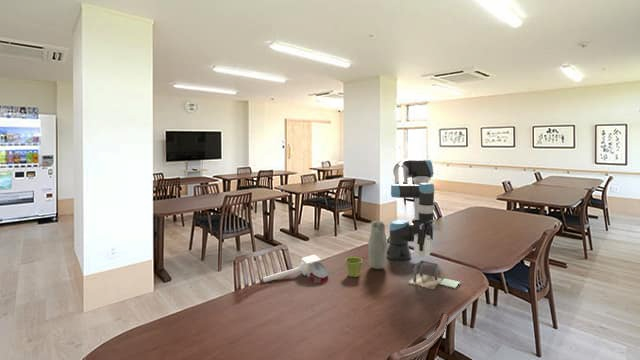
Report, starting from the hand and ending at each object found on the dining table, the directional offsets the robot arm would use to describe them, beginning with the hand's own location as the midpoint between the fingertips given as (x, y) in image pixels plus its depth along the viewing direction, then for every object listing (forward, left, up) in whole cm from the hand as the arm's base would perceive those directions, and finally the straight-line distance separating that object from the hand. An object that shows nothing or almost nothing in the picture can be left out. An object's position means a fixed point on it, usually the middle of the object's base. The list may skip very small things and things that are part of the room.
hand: (424, 254), depth 180 cm
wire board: (+2, -4, -13) cm, 14 cm away
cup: (0, -1, 0) cm, 1 cm away
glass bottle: (-27, -2, -14) cm, 30 cm away
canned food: (-45, -35, -14) cm, 58 cm away
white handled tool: (-59, -41, -14) cm, 73 cm away
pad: (+13, 0, -13) cm, 19 cm away
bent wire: (+2, -4, -12) cm, 13 cm away
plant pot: (-33, -19, -14) cm, 40 cm away
